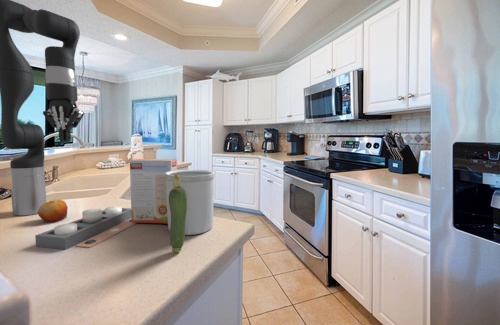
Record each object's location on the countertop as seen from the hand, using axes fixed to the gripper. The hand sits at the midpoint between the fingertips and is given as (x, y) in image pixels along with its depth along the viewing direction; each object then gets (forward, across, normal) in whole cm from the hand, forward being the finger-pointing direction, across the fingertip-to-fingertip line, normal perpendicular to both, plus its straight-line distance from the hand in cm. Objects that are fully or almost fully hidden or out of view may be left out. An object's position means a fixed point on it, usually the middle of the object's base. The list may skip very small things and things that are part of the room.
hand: (65, 141), depth 76 cm
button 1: (+26, +9, -10) cm, 29 cm away
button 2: (+26, +9, +8) cm, 29 cm away
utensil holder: (+27, +38, +6) cm, 47 cm away
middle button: (+24, +9, -1) cm, 26 cm away
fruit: (+27, -11, +4) cm, 30 cm away
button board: (+27, +9, -1) cm, 28 cm away
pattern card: (+27, +17, -1) cm, 32 cm away
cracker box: (+27, +24, +9) cm, 37 cm away
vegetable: (+27, +42, -10) cm, 51 cm away
